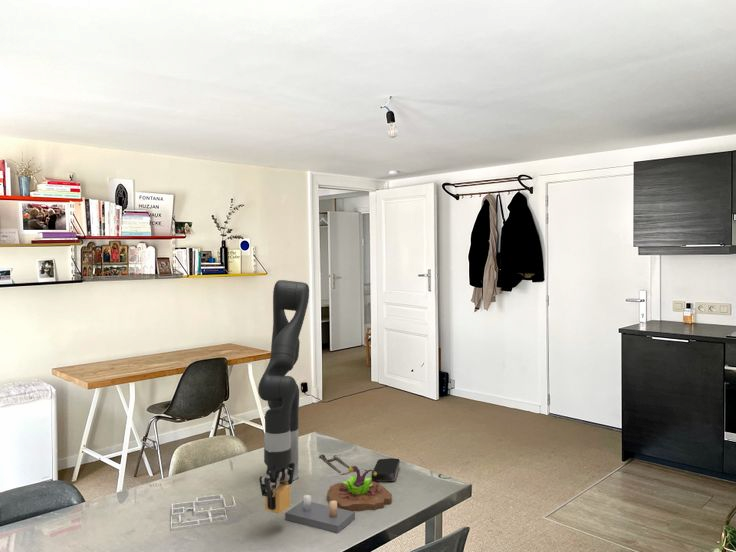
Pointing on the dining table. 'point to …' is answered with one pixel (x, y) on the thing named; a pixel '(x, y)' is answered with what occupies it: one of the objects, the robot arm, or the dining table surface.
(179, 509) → the floor plan model
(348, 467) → the hacksaw
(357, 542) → the dining table surface
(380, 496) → the plant
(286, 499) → the pale orange cube
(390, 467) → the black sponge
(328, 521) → the board
